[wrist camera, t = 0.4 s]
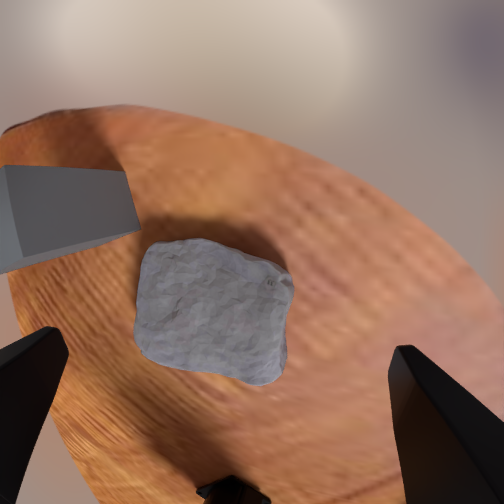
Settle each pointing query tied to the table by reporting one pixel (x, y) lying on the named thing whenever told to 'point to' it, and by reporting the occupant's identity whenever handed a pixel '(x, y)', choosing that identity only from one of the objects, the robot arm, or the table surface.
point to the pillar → (60, 212)
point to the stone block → (213, 310)
